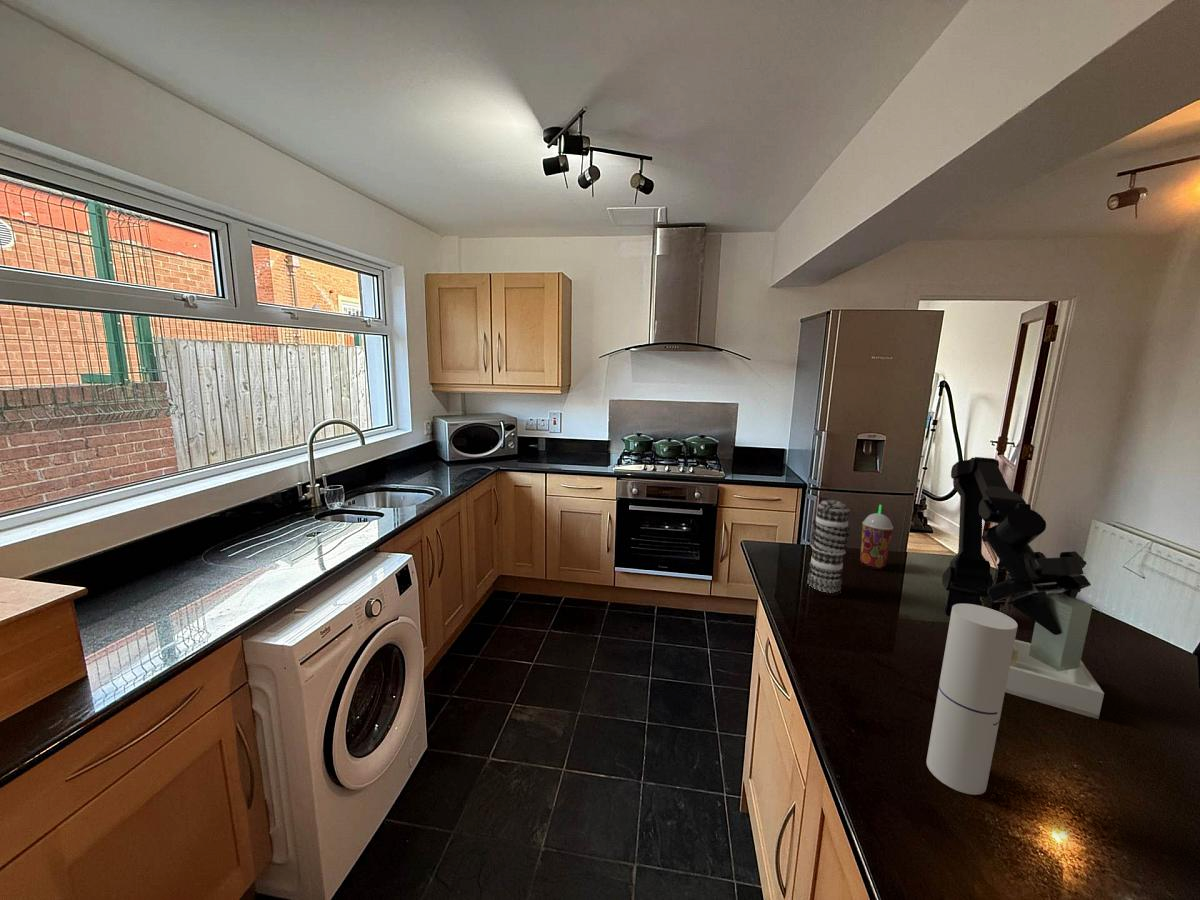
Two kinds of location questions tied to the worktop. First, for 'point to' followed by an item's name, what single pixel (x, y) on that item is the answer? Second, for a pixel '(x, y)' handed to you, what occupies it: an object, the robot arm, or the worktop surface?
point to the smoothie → (876, 539)
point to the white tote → (1054, 684)
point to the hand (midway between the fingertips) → (1068, 633)
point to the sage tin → (1062, 633)
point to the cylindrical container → (970, 696)
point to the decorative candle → (828, 546)
